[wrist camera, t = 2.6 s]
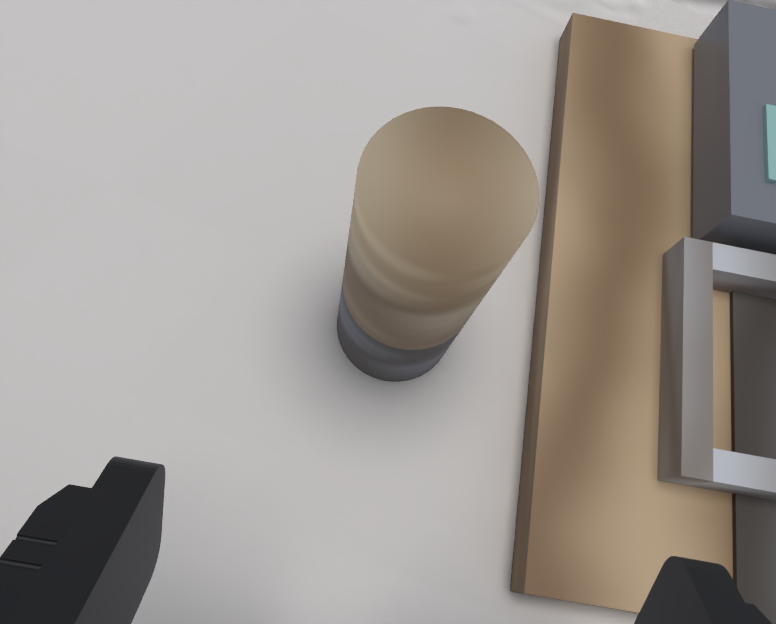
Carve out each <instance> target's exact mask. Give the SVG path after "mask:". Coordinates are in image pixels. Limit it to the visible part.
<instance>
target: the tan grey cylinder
mask: <svg viewBox="0 0 776 624" xmlns="http://www.w3.org/2000/svg"><path fill="white" fill-rule="evenodd" d="M538 206H539V188H538V181H537V177H536V174H535V170H534V168H533V166H532V163H531V161H530V159H529V158H528V156H527V154H526V152H525V151H524V150H523V148H522V147H521V146H520V144H519V143H518V142H517V141H516V140H515V139H514V138H513V137H512V136H511V135H510V134H509V133H508V132H507V131H506V130H504V129H503V128H502V127H501V126H499V125H498V124H496V123H495V122H493V121H491V120H489V119H487V118H485V117H483V116H481V115H479V114H476V113H473V112H471V111H467V110H463V109H458V108H452V107H427V108H422V109H417V110H413V111H410V112H407V113H404V114H402V115H400V116H398V117H396V118H394V119H392V120H391V121H389V122H388V123H386V124H385V125H384V126H383V127H381V128H380V129H379V130H378V131H377V132H376V133H375V134H374V136H373V137H372V138H371V139H370V141H369V142H368V144H367V145H366V147H365V149H364V151H363V153H362V156H361V158H360V162H359V165H358V170H357V178H356V185H355V193H354V200H353V207H352V215H351V222H350V230H349V237H348V245H347V252H346V260H345V267H344V275H343V282H342V290H341V297H340V304H339V312H338V320H337V331H338V337H339V341H340V344H341V346H342V348H343V351H344V352H345V354H346V355H347V357H348V358H349V359H350V361H351V362H352V363H353V364H354V365H355V366H356V367H357V368H359V369H360V370H361V371H363V372H364V373H366V374H368V375H370V376H372V377H375V378H377V379H381V380H385V381H405V380H410V379H414V378H416V377H419V376H421V375H423V374H424V373H426V372H428V371H429V370H430V369H431V368H433V367H434V366H435V365H436V364H437V363H438V361H439V360H440V359H441V357H442V356H443V354H444V353H445V352H446V350H447V349H448V347H449V346H450V344H451V343H452V342H453V340H454V339H455V337H456V336H457V335H458V333H459V332H460V330H461V329H462V328H463V326H464V325H465V323H466V322H467V320H468V319H469V318H470V316H471V315H472V313H473V312H474V311H475V309H476V308H477V306H478V305H479V303H480V302H481V301H482V299H483V298H484V296H485V295H486V294H487V292H488V291H489V289H490V288H491V286H492V285H493V284H494V282H495V281H496V279H497V278H498V277H499V275H500V274H501V272H502V271H503V270H504V268H505V267H506V265H507V264H508V262H509V261H510V260H511V258H512V257H513V255H514V254H515V253H516V251H517V250H518V248H519V247H520V245H521V244H522V243H523V241H524V240H525V238H526V237H527V236H528V234H529V232H530V230H531V228H532V227H533V225H534V222H535V219H536V216H537V212H538Z"/></svg>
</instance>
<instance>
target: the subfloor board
mask: <svg viewBox="0 0 776 624" xmlns="http://www.w3.org/2000/svg"><path fill="white" fill-rule="evenodd" d="M697 40H698V39H693V38H688V37H684V36H679V35H674V34H670V33H665V32H660V31H656V30H651V29H646V28H642V27H637V26H632V25H628V24H623V23H618V22H614V21H609V20H604V19H600V18H595V17H590V16H585V15H581V14H576V13H573V14H572V16H571V18H570V20H569V22H568V24H567V26H566V28H565V30H564V32H563V34H562V36H561V38H560V45H559V56H558V67H557V78H556V89H555V100H554V111H553V122H552V134H551V145H550V156H549V167H548V178H547V189H546V200H545V211H544V222H543V233H542V244H541V255H540V266H539V277H538V289H537V300H536V311H535V322H534V333H533V344H532V355H531V366H530V377H529V388H528V399H527V410H526V421H525V433H524V444H523V455H522V466H521V477H520V488H519V499H518V510H517V521H516V532H515V543H514V554H513V565H512V576H511V588H510V591H514V592H519V593H524V594H529V595H535V596H541V597H547V598H553V599H559V600H565V601H571V602H577V603H583V604H589V605H595V606H601V607H607V608H613V609H619V610H625V611H631V612H637V613H639V612H640V610H641V608H642V606H643V604H644V602H645V600H646V598H647V596H648V594H649V592H650V590H651V588H652V586H653V584H654V582H655V580H656V578H657V576H658V574H659V572H660V570H661V568H662V566H663V564H664V562H665V561H666V560H667V559H668V558H669V557H671V556H678V557H684V558H689V559H695V560H701V561H706V562H712V563H718V564H721V565H722V566H724V567H725V568H726V569H727V570H728V572H729V574H730V575H731V577H732V579H733V581H734V583H735V585H736V587H737V588H738V590H739V592H740V594H741V596H742V598H743V600H744V602H745V603H749V604H754V605H755V606H756V607H757V608H758V609H759V610H760V611H761V612H762V613H763V614H764V616H765V617H766V618H767V619H768V620H769V621H770V622H771V623H772V624H776V255H775V254H769V253H764V252H759V251H754V250H749V249H744V248H739V247H734V246H729V245H724V244H719V243H714V242H709V241H704V240H699V239H694V238H693V115H694V44H695V43H696V41H697Z"/></svg>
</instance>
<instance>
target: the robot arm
mask: <svg viewBox="0 0 776 624" xmlns="http://www.w3.org/2000/svg"><path fill="white" fill-rule="evenodd" d="M164 486H165V467H164V465H162V464H156V463H150V462H144V461H139V460H133V459H127V458H122V457H113V458H112V459H111V460H110V461H109V463H108V464H107V465H106V467H105V469H104V470H103V472H102V473H101V475H100V476H99V478H98V479H97V481H96V483H95V484H94V486H93V487H92V488H87V487H81V486H75V485H68V486H66V487H65V488H63V489H62V490H60V491H59V492H57V493H56V494H54V495H53V496H51V497H50V498H48V499H47V500H46V501H44V502H43V503H41V504H40V505H38V506H37V507H36V509H35V510H34V512H33V513H32V514H31V516H30V517H29V518H28V520H27V521H26V523H25V524H24V525H23V527H22V528H21V530H20V531H19V532H18V534H17V537H16V539H15V540H13V541H12V542H11V543H10V545H9V546H8V547H7V549H6V550H5V552H4V553H3V554H2V556H1V557H0V624H131V622H132V620H133V618H134V616H135V613H136V611H137V609H138V607H139V604H140V602H141V600H142V598H143V595H144V593H145V591H146V589H147V587H148V584H149V582H150V580H151V577H152V574H153V571H154V568H155V565H156V561H157V558H158V553H159V548H160V543H161V532H162V516H163V501H164ZM634 624H772V623H771V622H770V621H769V620H768V619H767V618H766V617H765V616H764V614H763V613H762V612H761V611H760V610H759V609H758V608H757V607H756V606H755V605H754V604H749V603H745V602H744V600H743V598H742V596H741V594H740V592H739V590H738V588H737V587H736V585H735V583H734V581H733V579H732V577H731V575H730V574H729V572H728V570H727V569H726V568H725V567H724V566H722V565H721V564H718V563H712V562H706V561H701V560H695V559H689V558H684V557H678V556H671V557H669V558H668V559H667V560H666V561H665V562H664V564H663V566H662V568H661V570H660V572H659V574H658V576H657V578H656V580H655V582H654V584H653V586H652V588H651V590H650V592H649V594H648V596H647V598H646V600H645V602H644V604H643V606H642V608H641V610H640V612H639V614H638V616H637V618H636V621H635V623H634Z"/></svg>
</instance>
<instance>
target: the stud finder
mask: <svg viewBox="0 0 776 624" xmlns="http://www.w3.org/2000/svg"><path fill="white" fill-rule="evenodd" d="M693 238H694V239H699V240H704V241H709V242H714V243H719V244H724V245H729V246H734V247H739V248H744V249H749V250H754V251H759V252H764V253H769V254H775V255H776V10H772V9H768V8H763V7H758V6H754V5H749V4H745V3H740V2H735V1H731V0H728V1H727V2H726V4H725V5H724V6H723V8H722V9H721V10H720V12H719V13H718V14H717V15H716V17H715V18H714V19H713V21H712V22H711V23H710V25H709V26H708V27H707V28H706V30H705V31H704V32H703V34H702V35H701V36H700V38H699V39H698V40H697V41H696V43H695V44H694V115H693Z"/></svg>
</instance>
